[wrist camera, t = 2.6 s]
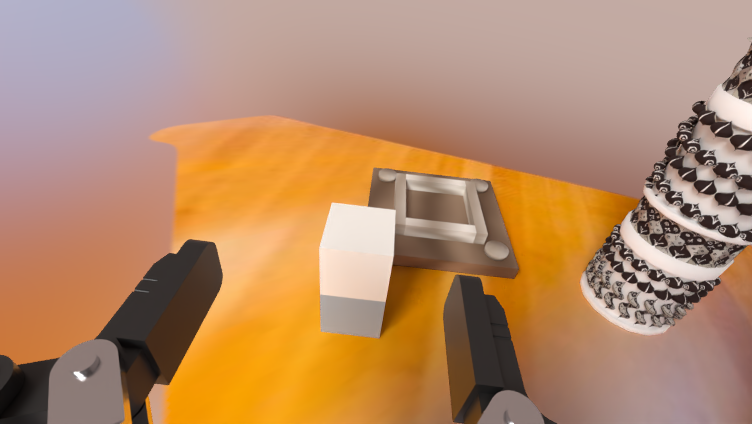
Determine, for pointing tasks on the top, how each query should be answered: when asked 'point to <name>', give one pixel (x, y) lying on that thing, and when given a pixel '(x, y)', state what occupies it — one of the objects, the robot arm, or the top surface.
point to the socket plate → (444, 223)
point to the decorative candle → (682, 217)
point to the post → (355, 269)
